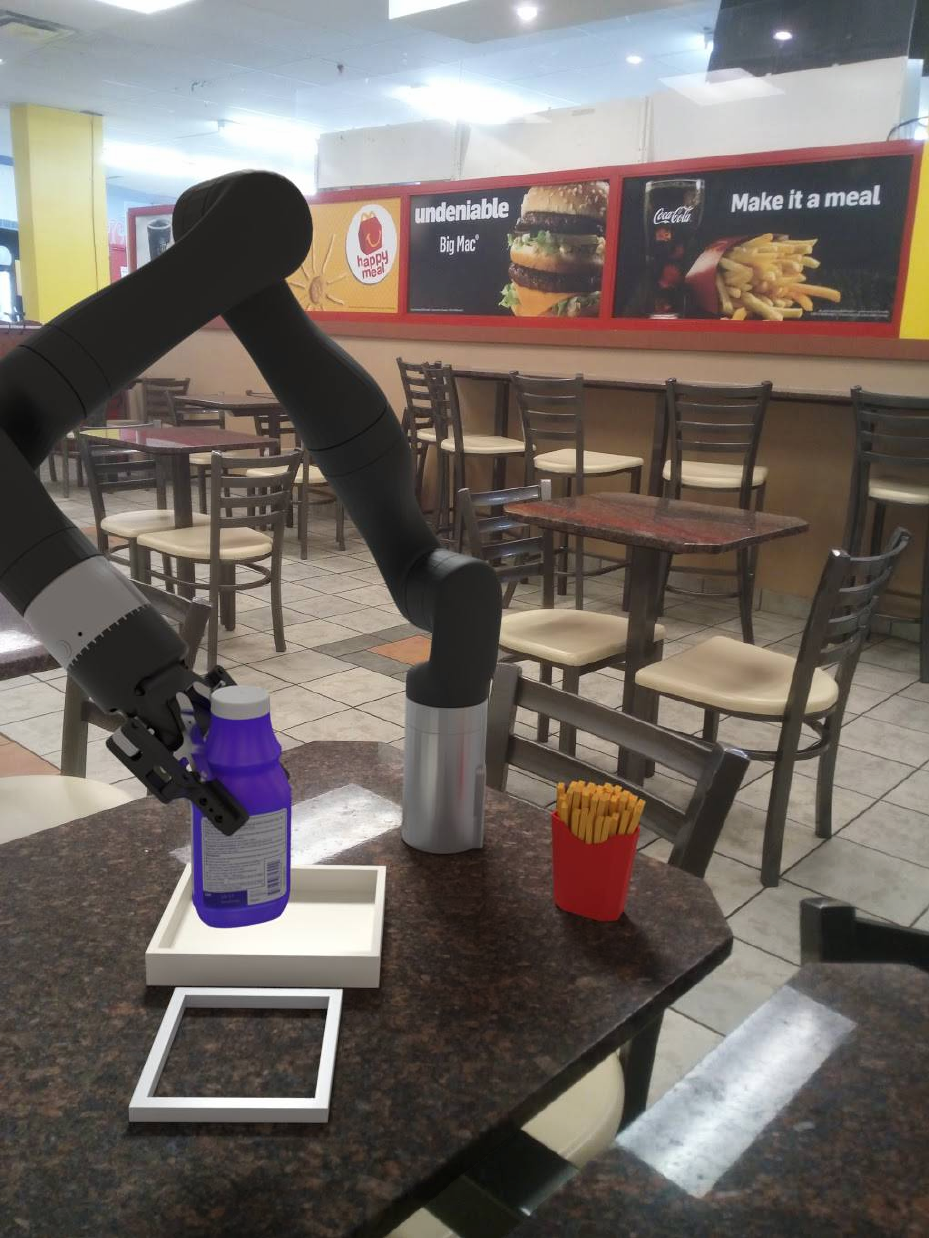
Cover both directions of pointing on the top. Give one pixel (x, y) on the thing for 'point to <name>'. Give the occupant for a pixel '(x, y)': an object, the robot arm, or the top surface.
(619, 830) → the french fries
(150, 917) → the top surface
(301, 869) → the tray
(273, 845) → the bottle
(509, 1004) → the top surface
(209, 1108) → the frame
